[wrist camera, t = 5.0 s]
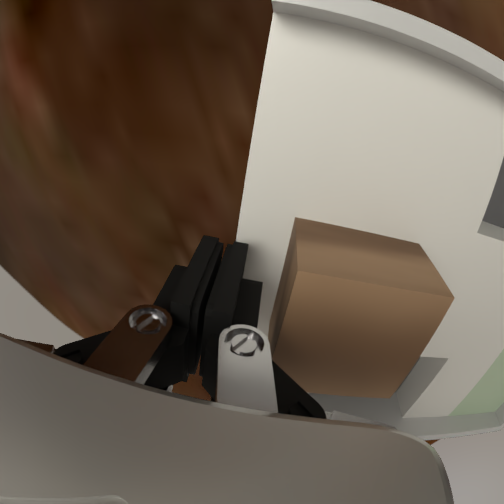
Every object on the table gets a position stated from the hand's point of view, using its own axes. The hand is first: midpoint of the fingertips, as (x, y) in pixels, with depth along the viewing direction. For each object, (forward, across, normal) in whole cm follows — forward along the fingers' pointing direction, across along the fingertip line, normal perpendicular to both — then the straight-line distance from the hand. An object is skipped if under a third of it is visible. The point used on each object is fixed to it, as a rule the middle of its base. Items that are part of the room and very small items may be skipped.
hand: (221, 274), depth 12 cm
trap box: (+3, -11, 0) cm, 12 cm away
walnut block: (+1, -5, 0) cm, 5 cm away
